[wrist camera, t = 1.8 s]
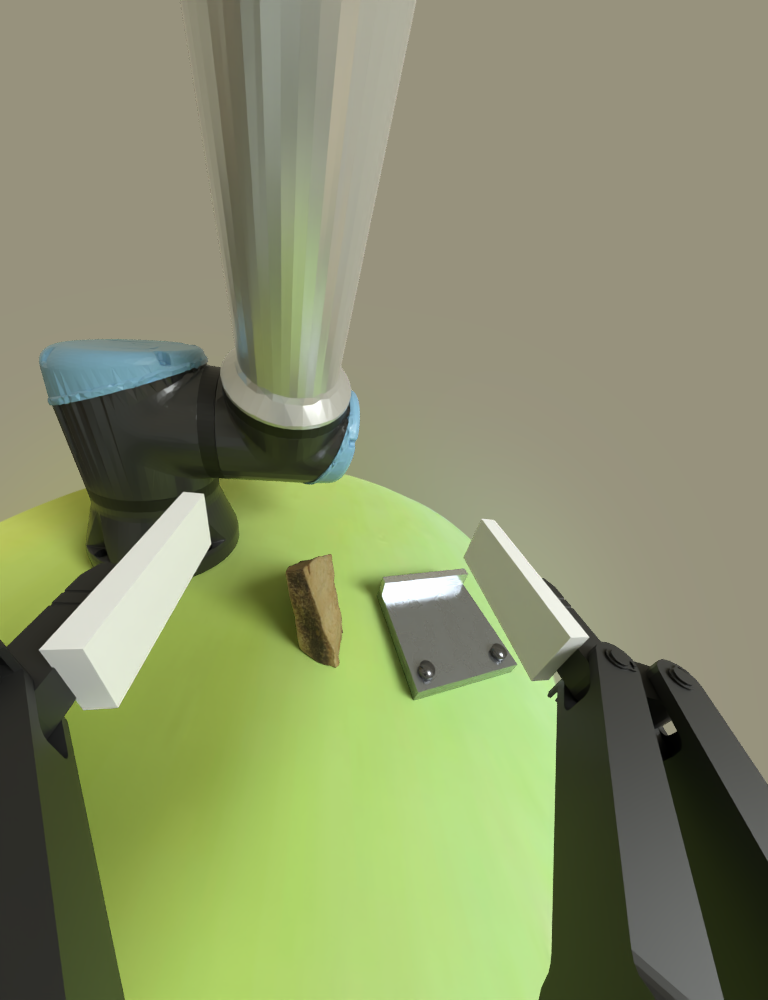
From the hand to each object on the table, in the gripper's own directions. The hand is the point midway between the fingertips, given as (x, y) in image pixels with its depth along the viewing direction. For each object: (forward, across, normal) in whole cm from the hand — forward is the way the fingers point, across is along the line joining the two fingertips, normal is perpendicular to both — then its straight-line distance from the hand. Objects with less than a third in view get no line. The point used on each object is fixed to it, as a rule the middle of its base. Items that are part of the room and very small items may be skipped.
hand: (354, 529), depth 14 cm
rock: (+10, 0, -20) cm, 22 cm away
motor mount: (+8, +14, -20) cm, 25 cm away
